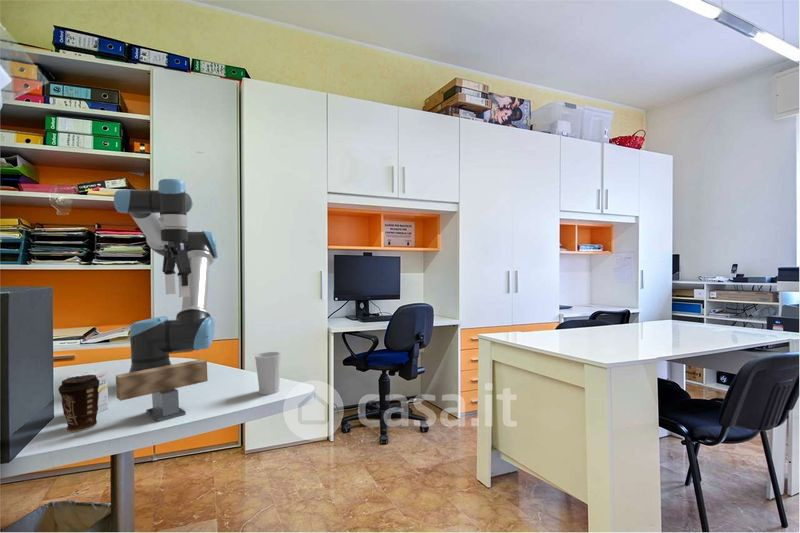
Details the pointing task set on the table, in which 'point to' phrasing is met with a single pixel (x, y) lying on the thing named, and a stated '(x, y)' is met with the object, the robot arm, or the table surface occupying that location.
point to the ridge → (165, 405)
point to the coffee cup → (80, 401)
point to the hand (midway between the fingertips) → (177, 295)
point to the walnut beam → (160, 379)
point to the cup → (268, 372)
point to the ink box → (102, 388)
